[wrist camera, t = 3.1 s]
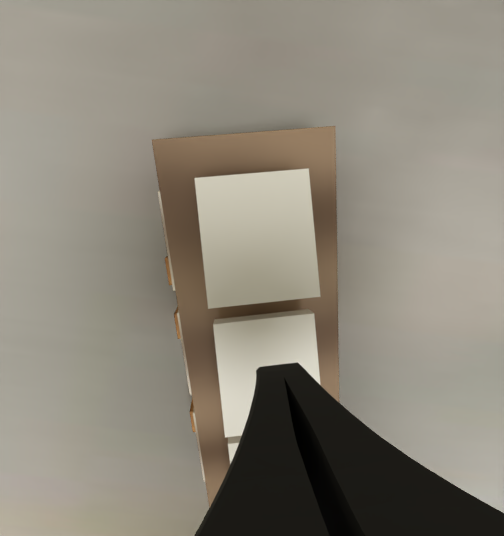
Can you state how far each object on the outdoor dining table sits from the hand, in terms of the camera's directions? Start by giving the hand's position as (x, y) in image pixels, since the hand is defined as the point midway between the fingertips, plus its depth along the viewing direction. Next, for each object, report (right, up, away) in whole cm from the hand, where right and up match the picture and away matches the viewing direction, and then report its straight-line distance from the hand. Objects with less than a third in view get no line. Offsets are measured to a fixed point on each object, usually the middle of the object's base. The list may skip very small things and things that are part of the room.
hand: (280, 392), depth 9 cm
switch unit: (0, 0, +9) cm, 9 cm away
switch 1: (-1, +5, +3) cm, 6 cm away
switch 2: (0, -1, +4) cm, 4 cm away
